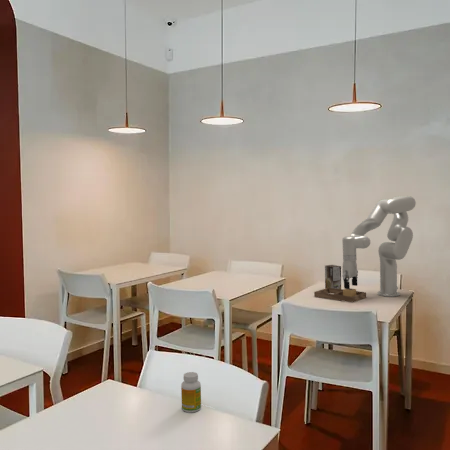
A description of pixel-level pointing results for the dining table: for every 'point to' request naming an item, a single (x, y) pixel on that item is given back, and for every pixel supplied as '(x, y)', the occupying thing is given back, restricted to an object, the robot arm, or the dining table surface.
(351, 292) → the marked cube
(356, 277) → the robot arm
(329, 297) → the organiser
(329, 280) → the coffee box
